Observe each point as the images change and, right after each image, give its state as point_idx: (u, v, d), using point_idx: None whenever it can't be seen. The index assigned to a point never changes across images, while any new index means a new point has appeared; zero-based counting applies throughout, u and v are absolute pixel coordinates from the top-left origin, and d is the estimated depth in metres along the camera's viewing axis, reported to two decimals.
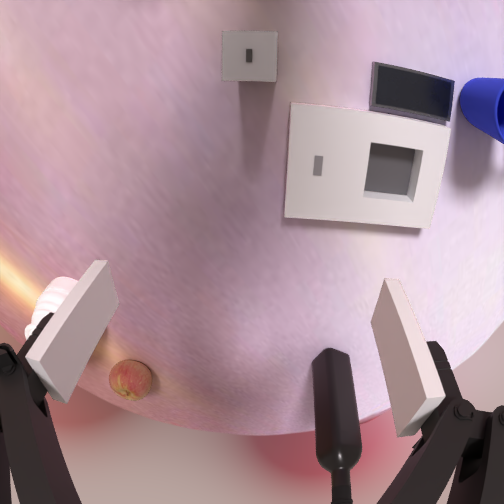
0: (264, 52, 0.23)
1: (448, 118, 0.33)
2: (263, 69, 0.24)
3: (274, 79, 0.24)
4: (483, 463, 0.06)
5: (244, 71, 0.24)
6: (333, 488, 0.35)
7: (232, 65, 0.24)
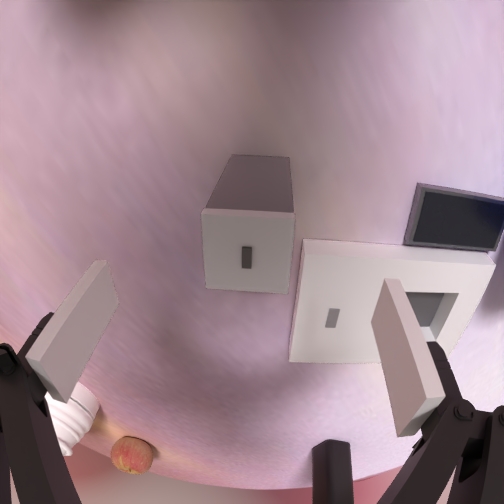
0: (271, 252, 0.17)
1: (494, 248, 0.26)
2: (269, 277, 0.18)
3: (285, 290, 0.18)
4: (483, 463, 0.06)
5: (239, 277, 0.18)
6: None
7: (221, 268, 0.18)
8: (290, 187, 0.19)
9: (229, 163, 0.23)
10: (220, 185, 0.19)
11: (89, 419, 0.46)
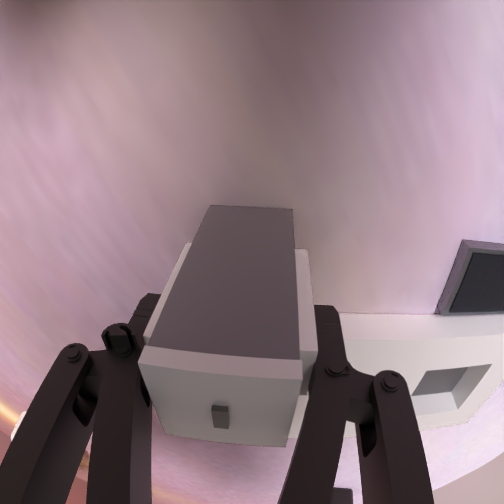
0: (259, 411, 0.09)
1: None
2: (257, 434, 0.10)
3: (281, 444, 0.11)
4: (379, 436, 0.08)
5: (212, 429, 0.10)
6: None
7: (183, 419, 0.10)
8: (294, 284, 0.12)
9: (203, 224, 0.16)
10: (181, 279, 0.12)
11: None
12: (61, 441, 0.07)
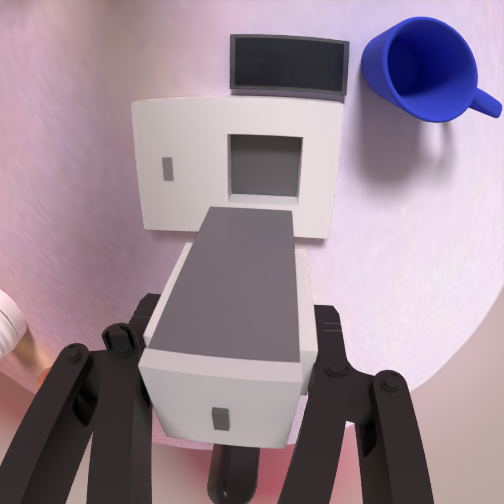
0: (259, 413, 0.09)
1: (343, 91, 0.27)
2: (257, 435, 0.10)
3: (281, 446, 0.11)
4: (379, 436, 0.08)
5: (213, 431, 0.10)
6: None
7: (183, 421, 0.10)
8: (294, 286, 0.12)
9: (203, 226, 0.16)
10: (181, 282, 0.12)
11: (12, 332, 0.46)
12: (61, 441, 0.07)
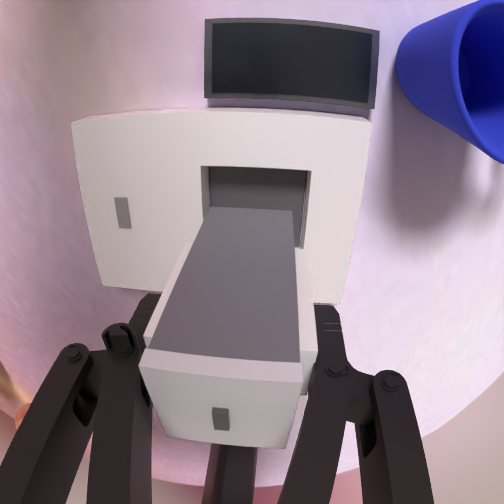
0: (260, 413, 0.09)
1: (370, 103, 0.18)
2: (257, 435, 0.10)
3: (282, 446, 0.11)
4: (379, 436, 0.08)
5: (213, 431, 0.10)
6: None
7: (183, 421, 0.10)
8: (294, 286, 0.12)
9: (203, 226, 0.16)
10: (181, 282, 0.12)
11: None
12: (61, 441, 0.07)
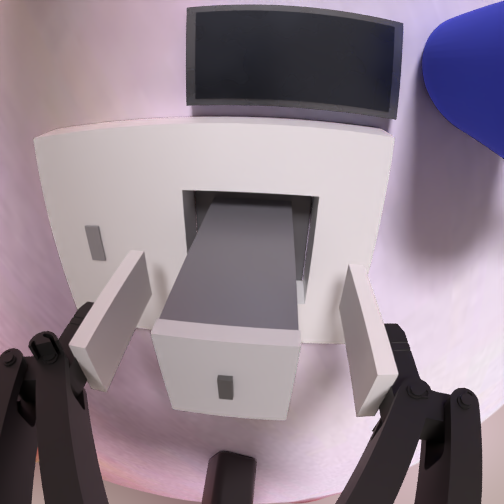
0: (262, 381, 0.11)
1: (392, 112, 0.15)
2: (259, 406, 0.11)
3: (282, 418, 0.12)
4: (446, 449, 0.07)
5: (217, 402, 0.11)
6: None
7: (190, 392, 0.11)
8: (293, 266, 0.13)
9: (208, 214, 0.17)
10: (189, 262, 0.13)
11: None
12: (13, 441, 0.07)
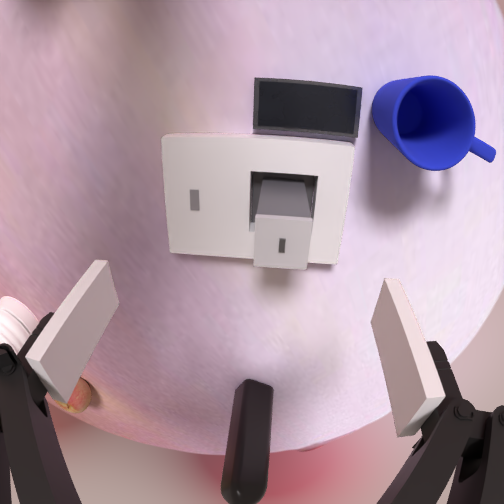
0: (297, 242, 0.27)
1: (355, 134, 0.31)
2: (295, 258, 0.28)
3: (305, 267, 0.28)
4: (483, 463, 0.06)
5: (276, 258, 0.28)
6: None
7: (264, 252, 0.28)
8: (307, 202, 0.30)
9: (263, 184, 0.34)
10: (261, 199, 0.30)
11: None
12: None
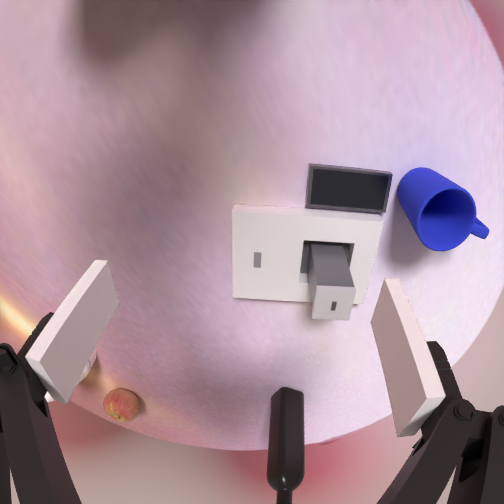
0: (344, 303, 0.37)
1: (383, 210, 0.41)
2: (341, 313, 0.38)
3: (347, 319, 0.38)
4: (483, 463, 0.06)
5: (328, 313, 0.38)
6: None
7: (320, 310, 0.38)
8: (349, 269, 0.40)
9: (312, 249, 0.43)
10: (316, 268, 0.40)
11: (87, 364, 0.60)
12: None
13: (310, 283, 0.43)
